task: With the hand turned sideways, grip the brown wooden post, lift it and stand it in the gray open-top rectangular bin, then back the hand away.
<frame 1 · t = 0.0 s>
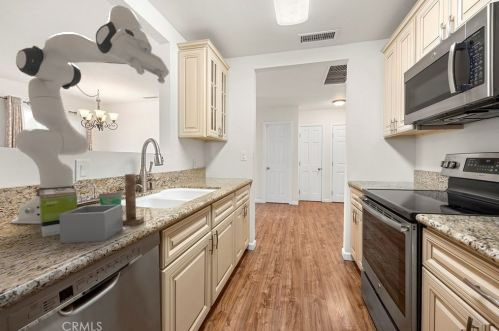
hand: (152, 78, 78), 54 cm above the worktop, tool tilted 30°, fingers open, 8 cm apart
gray open-top rectangular bin: (94, 235, 77), on the worktop
food container: (114, 212, 110), on the worktop
tea box: (59, 230, 83), on the worktop
brown wooden post: (131, 223, 91), on the worktop
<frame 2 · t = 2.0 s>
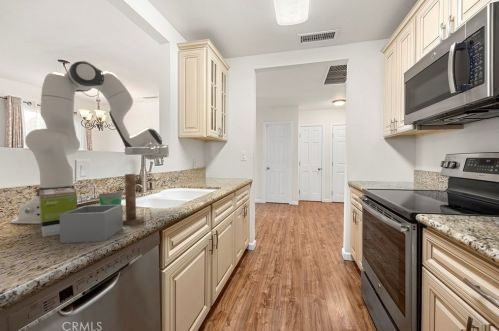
hand: (142, 150, 104), 30 cm above the worktop, tool horizontal, fingers open, 8 cm apart
nothing on the worktop moved.
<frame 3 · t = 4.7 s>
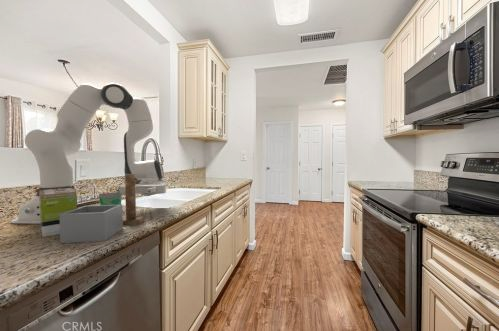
hand: (138, 190, 99), 12 cm above the worktop, tool horizontal, fingers open, 8 cm apart
nothing on the worktop moved.
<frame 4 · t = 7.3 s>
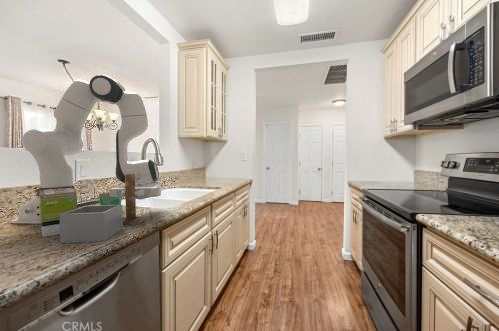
hand: (129, 194, 89), 12 cm above the worktop, tool horizontal, fingers closed on brown wooden post, 4 cm apart
brown wooden post: (131, 223, 91), on the worktop, touching gripper
everything else where it was.
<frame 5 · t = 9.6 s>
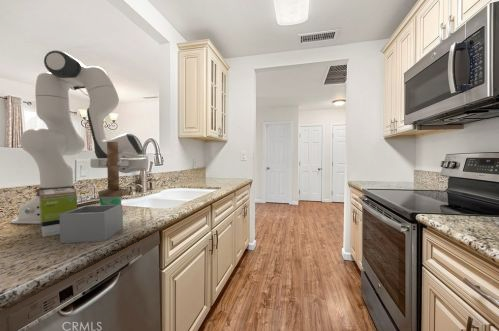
hand: (111, 163, 82), 24 cm above the worktop, tool horizontal, fingers closed on brown wooden post, 4 cm apart
brown wooden post: (113, 195, 84), point 12 cm above the worktop, touching gripper
everything else where it was.
when the fingers open (14 cm above the worktop, at t = 12.4 s): brown wooden post drops 1 cm, resting on gray open-top rectangular bin.
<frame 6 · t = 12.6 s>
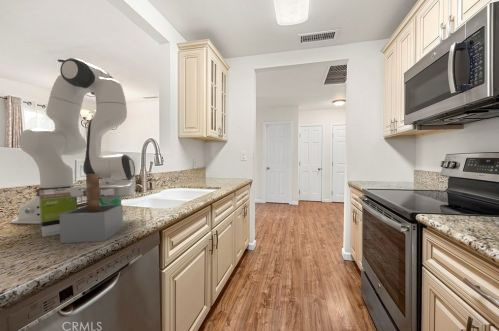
hand: (91, 193, 75), 14 cm above the worktop, tool horizontal, fingers open, 5 cm apart
brown wooden post: (94, 232, 77), point 1 cm above the worktop, touching gray open-top rectangular bin
everything else where it was.
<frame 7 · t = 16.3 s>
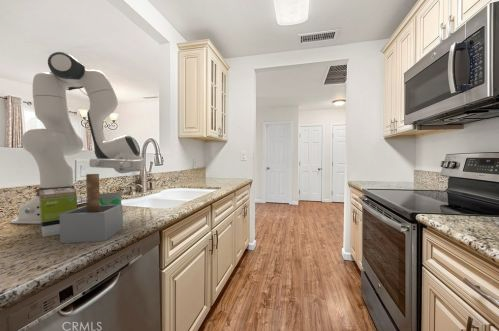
hand: (108, 164, 88), 24 cm above the worktop, tool horizontal, fingers open, 8 cm apart
nothing on the worktop moved.
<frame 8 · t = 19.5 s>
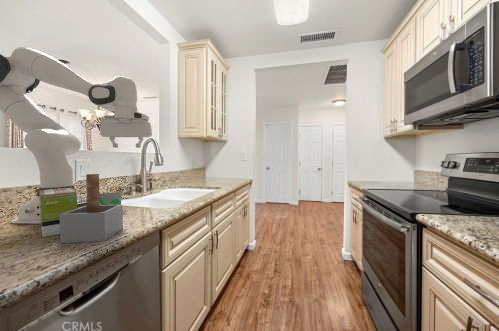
hand: (126, 147, 97), 31 cm above the worktop, tool pointing down, fingers open, 8 cm apart
nothing on the worktop moved.
at the end: brown wooden post inside the target area on the gray open-top rectangular bin (0.1 cm from its centre), point 1.0 cm above the gray open-top rectangular bin's base; brown wooden post tilted 0°; the gripper is holding nothing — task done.
